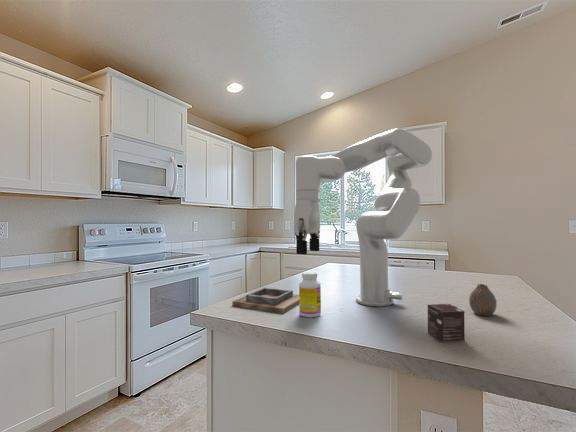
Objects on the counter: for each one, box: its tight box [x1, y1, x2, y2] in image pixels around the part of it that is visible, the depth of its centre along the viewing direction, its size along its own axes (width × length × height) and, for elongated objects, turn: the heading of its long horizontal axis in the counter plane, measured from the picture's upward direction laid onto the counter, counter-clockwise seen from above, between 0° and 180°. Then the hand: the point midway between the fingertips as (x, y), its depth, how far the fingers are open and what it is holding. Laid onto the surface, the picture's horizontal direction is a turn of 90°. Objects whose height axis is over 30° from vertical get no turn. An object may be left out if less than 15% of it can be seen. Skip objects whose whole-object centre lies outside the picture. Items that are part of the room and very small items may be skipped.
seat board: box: [231, 287, 299, 314], centre depth 106 cm, size 20×17×4 cm
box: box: [427, 303, 466, 344], centre depth 74 cm, size 6×6×7 cm
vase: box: [468, 283, 498, 317], centre depth 90 cm, size 7×7×9 cm
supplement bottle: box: [298, 271, 322, 318], centre depth 93 cm, size 7×7×13 cm
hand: (308, 252), depth 92 cm, fingers open, 9 cm apart
